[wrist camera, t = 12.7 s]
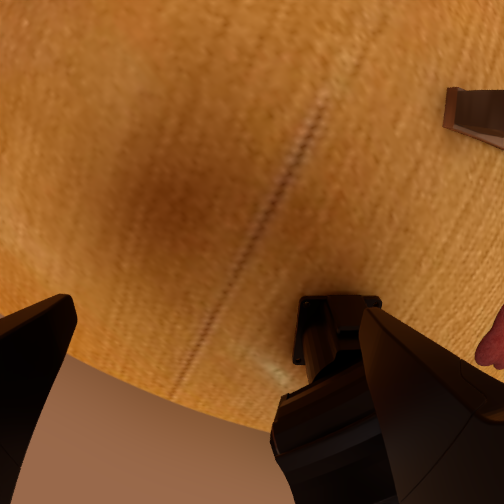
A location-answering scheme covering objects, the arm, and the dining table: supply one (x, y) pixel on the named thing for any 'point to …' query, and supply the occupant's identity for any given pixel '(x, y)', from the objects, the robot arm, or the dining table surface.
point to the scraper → (476, 114)
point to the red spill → (492, 344)
